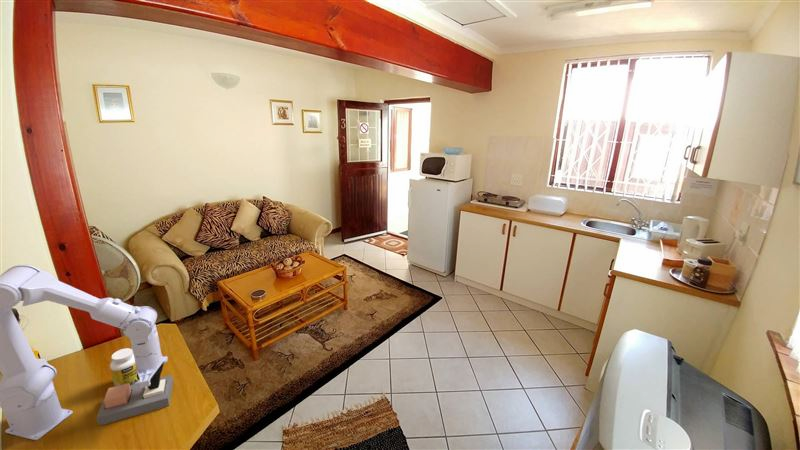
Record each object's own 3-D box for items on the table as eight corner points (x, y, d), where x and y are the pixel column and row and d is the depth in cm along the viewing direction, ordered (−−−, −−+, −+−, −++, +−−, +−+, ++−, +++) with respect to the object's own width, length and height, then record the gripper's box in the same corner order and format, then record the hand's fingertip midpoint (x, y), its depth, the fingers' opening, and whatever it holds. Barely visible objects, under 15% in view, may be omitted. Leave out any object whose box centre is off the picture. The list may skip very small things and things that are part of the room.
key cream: (145, 403, 86) (143, 395, 85) (148, 391, 90) (146, 383, 89) (164, 398, 89) (162, 390, 88) (166, 387, 92) (165, 378, 91)
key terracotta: (106, 409, 82) (103, 400, 81) (111, 396, 86) (108, 388, 85) (127, 403, 84) (125, 395, 83) (131, 391, 88) (129, 383, 87)
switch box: (99, 425, 80) (96, 417, 79) (109, 398, 88) (107, 390, 87) (169, 405, 88) (167, 397, 87) (173, 382, 95) (171, 374, 94)
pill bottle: (126, 393, 90) (119, 363, 86) (109, 387, 91) (101, 358, 87) (146, 377, 96) (140, 348, 92) (130, 372, 97) (124, 344, 93)
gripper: (160, 363, 80) (167, 402, 84) (168, 330, 92) (174, 365, 96) (125, 372, 77) (135, 411, 81) (138, 335, 88) (146, 372, 93)
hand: (154, 387), depth 88 cm, fingers closed, pressing on key cream
